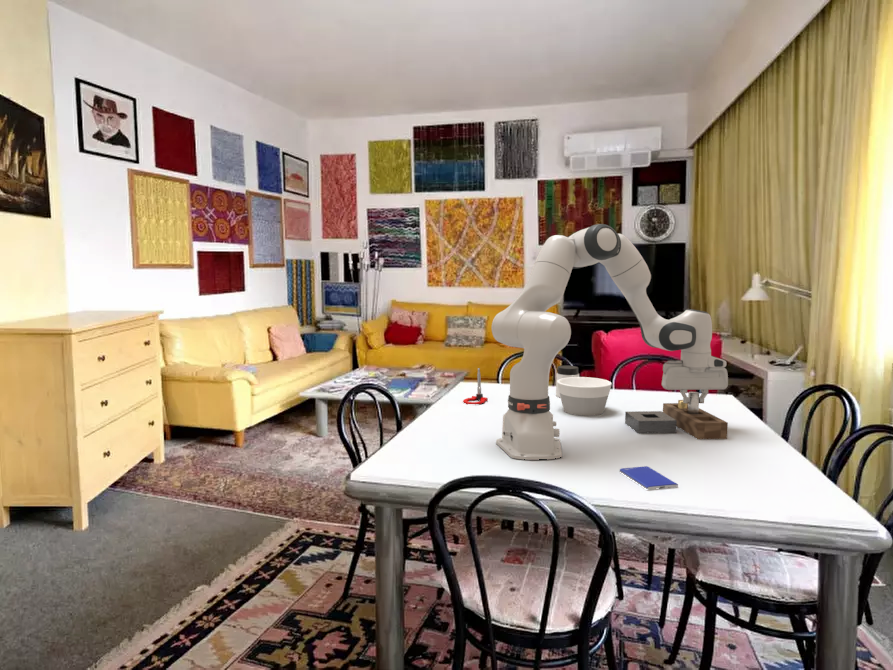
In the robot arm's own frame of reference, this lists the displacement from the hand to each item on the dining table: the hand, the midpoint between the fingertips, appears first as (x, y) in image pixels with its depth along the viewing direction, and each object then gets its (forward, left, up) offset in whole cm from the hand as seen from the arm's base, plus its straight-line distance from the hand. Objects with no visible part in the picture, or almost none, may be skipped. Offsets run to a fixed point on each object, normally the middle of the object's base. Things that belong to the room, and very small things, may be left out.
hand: (693, 403), depth 189 cm
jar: (+48, +29, -8) cm, 57 cm away
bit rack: (0, 0, -8) cm, 8 cm away
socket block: (0, +14, -8) cm, 16 cm away
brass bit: (+8, 0, -8) cm, 11 cm away
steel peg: (0, 0, -7) cm, 7 cm away
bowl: (+24, +29, -8) cm, 38 cm away
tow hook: (+40, +67, -8) cm, 78 cm away
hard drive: (-46, +32, -9) cm, 57 cm away
